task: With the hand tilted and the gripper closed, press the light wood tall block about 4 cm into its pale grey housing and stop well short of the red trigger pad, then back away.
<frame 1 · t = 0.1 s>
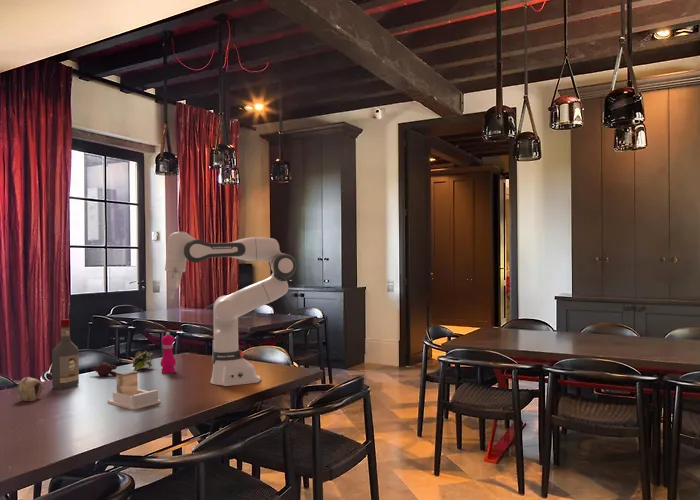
hand: (172, 298, 243), 39 cm above the table, tool pointing down, fingers open, 8 cm apart
pepper mill: (168, 372, 271), on the table
tan rounded lump: (30, 400, 221), on the table
passion flower: (143, 369, 279), on the table
key housing: (127, 401, 217), on the table
liquor: (65, 387, 243), on the table
light wood tall block: (127, 384, 217), point 6 cm above the table, slide at 0.0 cm
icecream: (103, 376, 264), on the table
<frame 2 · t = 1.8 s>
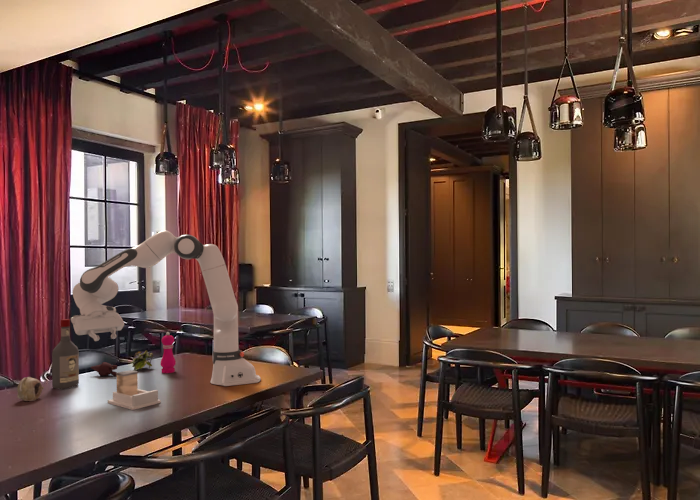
hand: (106, 338, 226), 24 cm above the table, tool tilted 45°, fingers open, 6 cm apart
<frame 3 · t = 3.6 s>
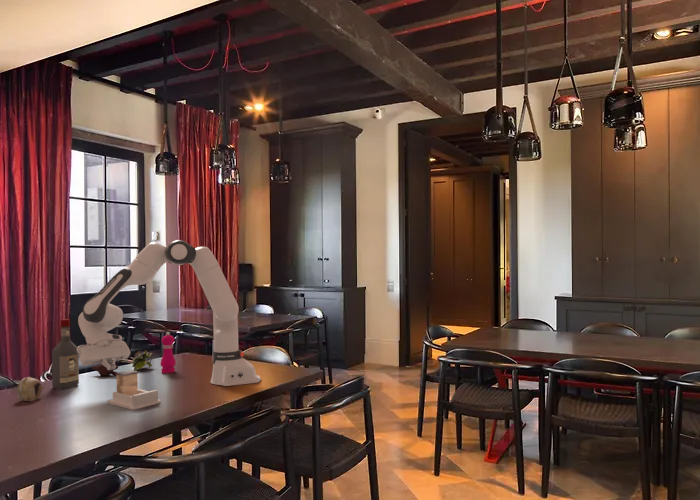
hand: (112, 368, 223), 12 cm above the table, tool tilted 45°, fingers closed
nothing on the table moved.
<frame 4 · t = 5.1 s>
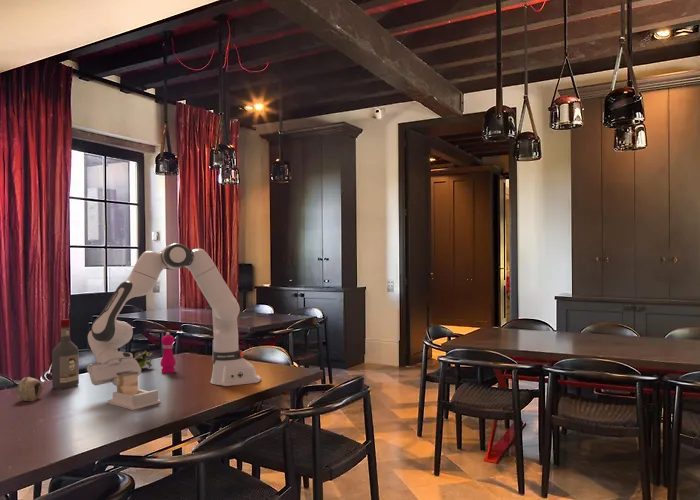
hand: (123, 388, 219), 5 cm above the table, tool tilted 45°, fingers closed, pressing on light wood tall block
light wood tall block: (127, 385, 217), point 6 cm above the table, slide at 0.3 cm, touching gripper
everything else where it was.
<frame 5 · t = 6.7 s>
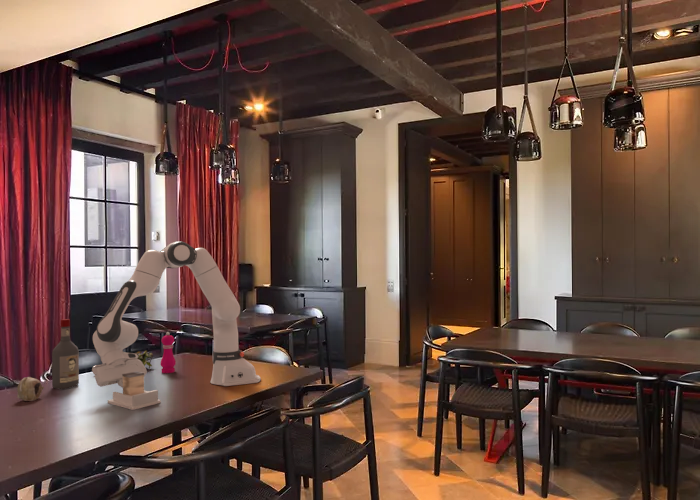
hand: (128, 389, 216), 5 cm above the table, tool tilted 45°, fingers closed
light wood tall block: (133, 386, 214), point 6 cm above the table, slide at 4.4 cm
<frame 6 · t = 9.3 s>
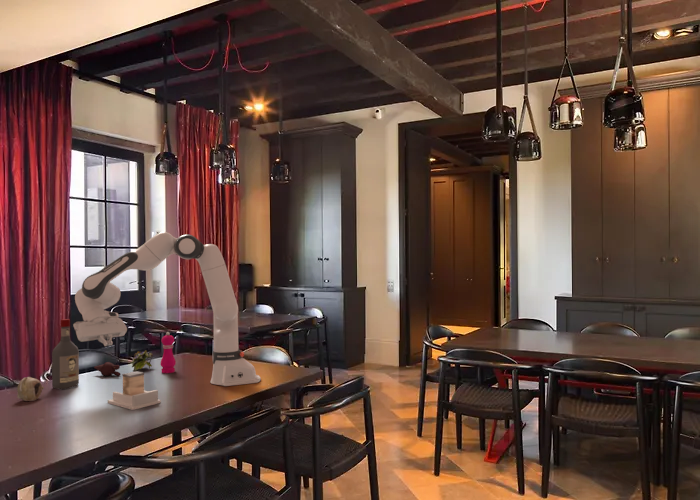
hand: (108, 344, 225), 21 cm above the table, tool tilted 45°, fingers closed
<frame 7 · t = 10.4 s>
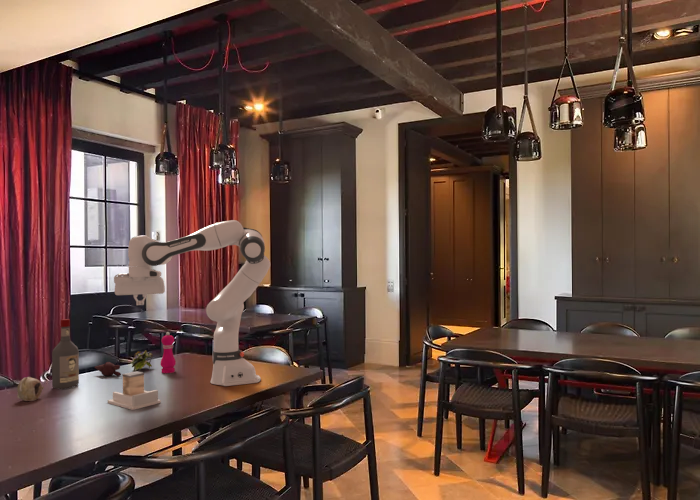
hand: (140, 305, 234), 37 cm above the table, tool pointing down, fingers closed
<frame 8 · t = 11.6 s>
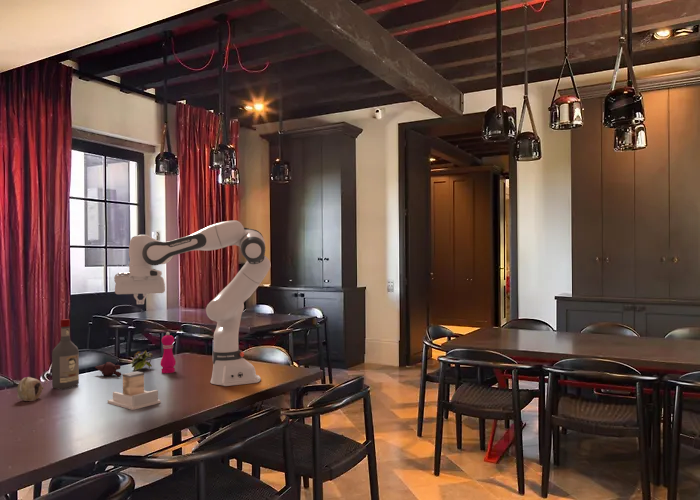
hand: (140, 304, 235), 37 cm above the table, tool pointing down, fingers closed
at the end: light wood tall block slide at 4.4 cm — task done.
